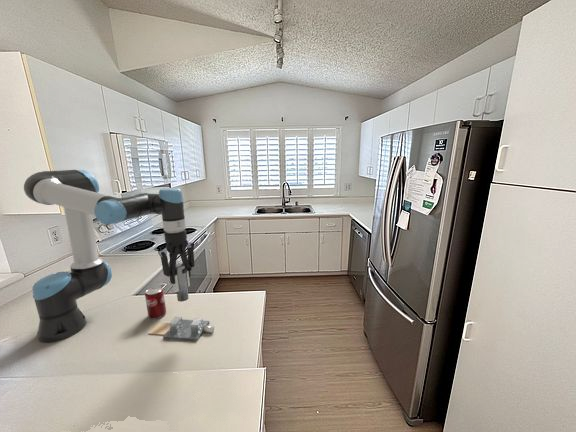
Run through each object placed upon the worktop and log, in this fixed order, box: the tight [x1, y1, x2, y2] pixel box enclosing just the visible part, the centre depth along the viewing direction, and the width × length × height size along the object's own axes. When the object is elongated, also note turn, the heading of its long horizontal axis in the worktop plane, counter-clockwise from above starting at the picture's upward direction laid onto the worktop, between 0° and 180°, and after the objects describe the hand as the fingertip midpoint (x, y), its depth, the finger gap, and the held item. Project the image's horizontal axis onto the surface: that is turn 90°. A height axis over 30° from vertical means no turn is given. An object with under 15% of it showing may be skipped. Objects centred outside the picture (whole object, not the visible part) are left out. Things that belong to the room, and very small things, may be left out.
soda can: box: [144, 286, 167, 320], centre depth 112 cm, size 7×7×12 cm
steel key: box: [175, 263, 190, 302], centre depth 98 cm, size 6×4×14 cm, turn 64°
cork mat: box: [148, 322, 170, 336], centre depth 104 cm, size 7×7×1 cm
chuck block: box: [162, 316, 215, 342], centre depth 102 cm, size 18×11×4 cm, turn 84°
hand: (181, 287), depth 99 cm, fingers closed on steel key, 4 cm apart
